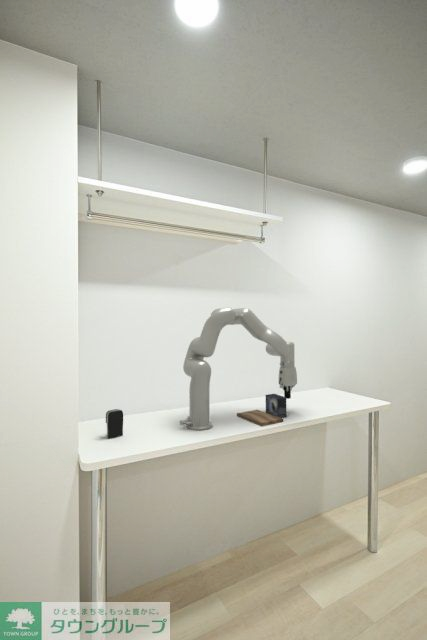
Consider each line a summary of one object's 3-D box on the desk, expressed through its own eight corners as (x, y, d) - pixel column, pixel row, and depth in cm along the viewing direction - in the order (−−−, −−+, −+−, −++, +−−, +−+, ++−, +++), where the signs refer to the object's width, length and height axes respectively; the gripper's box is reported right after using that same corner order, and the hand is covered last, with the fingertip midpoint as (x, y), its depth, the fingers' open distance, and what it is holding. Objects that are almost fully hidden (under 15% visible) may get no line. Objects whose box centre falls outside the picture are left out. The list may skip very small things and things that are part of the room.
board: (261, 426, 153) (261, 423, 153) (236, 416, 170) (236, 413, 170) (283, 421, 161) (283, 418, 161) (257, 412, 178) (257, 409, 178)
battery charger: (119, 433, 143) (120, 407, 143) (123, 435, 140) (123, 409, 141) (104, 436, 139) (104, 410, 139) (107, 439, 136) (108, 412, 136)
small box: (264, 413, 175) (264, 394, 175) (274, 412, 178) (274, 393, 178) (277, 419, 165) (277, 398, 165) (287, 417, 168) (287, 397, 168)
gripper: (282, 366, 169) (282, 401, 169) (302, 364, 177) (302, 397, 177) (272, 364, 176) (272, 398, 175) (292, 362, 184) (292, 395, 184)
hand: (287, 398), depth 176 cm, fingers closed
